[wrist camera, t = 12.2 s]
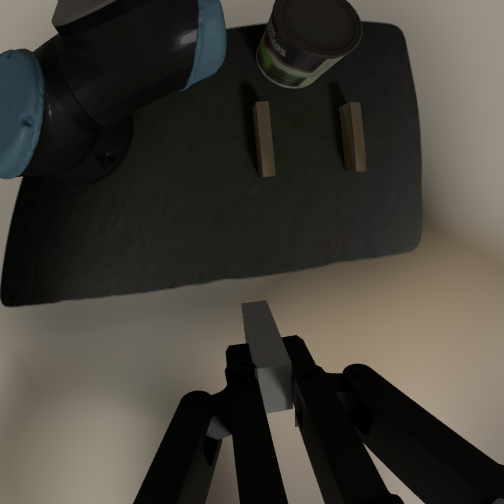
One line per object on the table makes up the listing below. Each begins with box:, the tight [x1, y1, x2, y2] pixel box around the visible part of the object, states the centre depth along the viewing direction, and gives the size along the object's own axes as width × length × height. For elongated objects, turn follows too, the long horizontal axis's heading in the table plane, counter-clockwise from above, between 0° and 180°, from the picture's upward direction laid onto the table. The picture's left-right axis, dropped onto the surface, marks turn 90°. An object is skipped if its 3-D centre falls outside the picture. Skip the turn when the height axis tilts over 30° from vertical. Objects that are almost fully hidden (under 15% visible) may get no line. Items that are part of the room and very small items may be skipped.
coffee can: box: [256, 0, 362, 88], centre depth 31 cm, size 10×10×14 cm
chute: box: [252, 101, 366, 177], centre depth 39 cm, size 15×10×4 cm
